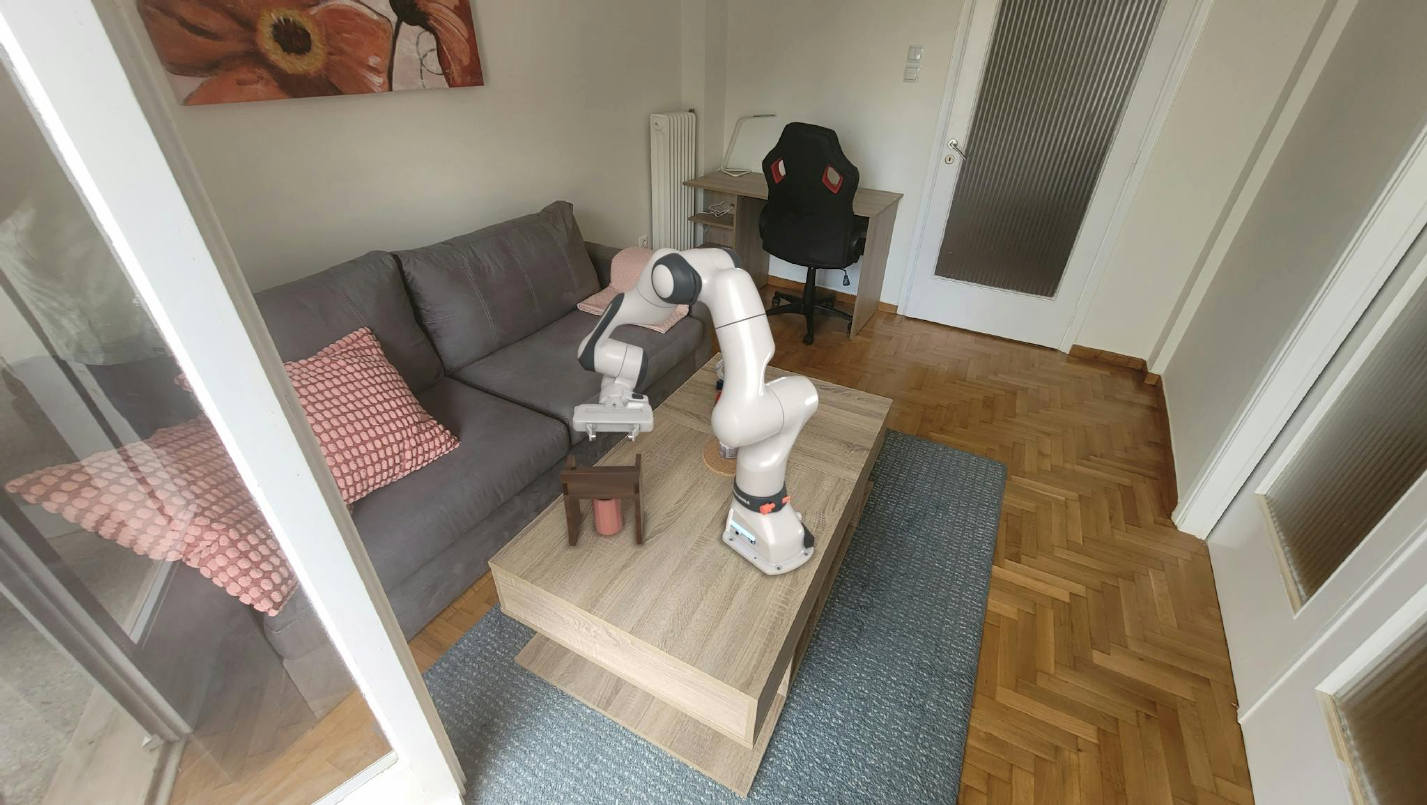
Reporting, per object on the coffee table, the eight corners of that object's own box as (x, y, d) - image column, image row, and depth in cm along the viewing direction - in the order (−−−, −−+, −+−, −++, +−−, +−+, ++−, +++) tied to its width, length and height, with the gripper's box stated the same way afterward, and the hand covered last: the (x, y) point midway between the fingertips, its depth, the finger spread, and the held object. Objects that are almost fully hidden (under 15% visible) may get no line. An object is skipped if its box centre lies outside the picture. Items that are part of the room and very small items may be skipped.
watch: (720, 380, 200) (721, 352, 195) (740, 388, 197) (742, 359, 191) (711, 387, 196) (712, 358, 191) (731, 394, 193) (733, 365, 187)
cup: (627, 528, 139) (625, 494, 134) (602, 539, 136) (598, 505, 131) (615, 512, 144) (613, 479, 138) (590, 521, 141) (586, 488, 135)
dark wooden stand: (576, 515, 143) (567, 445, 131) (644, 514, 144) (640, 444, 132) (570, 545, 134) (560, 473, 123) (642, 544, 135) (638, 472, 124)
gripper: (574, 394, 151) (567, 428, 140) (653, 396, 153) (653, 429, 142) (576, 413, 155) (569, 448, 144) (653, 414, 157) (653, 449, 146)
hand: (611, 439), depth 143 cm, fingers open, 8 cm apart
